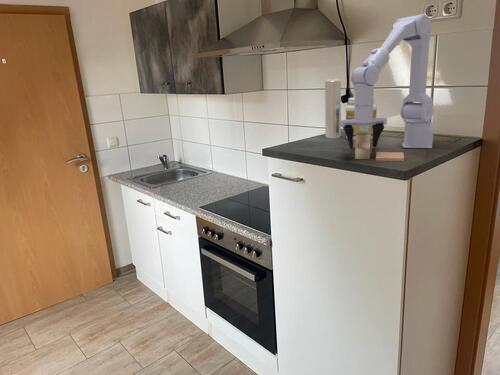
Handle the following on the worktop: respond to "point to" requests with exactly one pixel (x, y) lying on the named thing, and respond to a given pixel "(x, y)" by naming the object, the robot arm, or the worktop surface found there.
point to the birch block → (362, 146)
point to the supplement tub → (359, 129)
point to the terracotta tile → (389, 156)
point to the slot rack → (374, 151)
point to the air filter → (332, 108)
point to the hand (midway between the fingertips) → (362, 147)
